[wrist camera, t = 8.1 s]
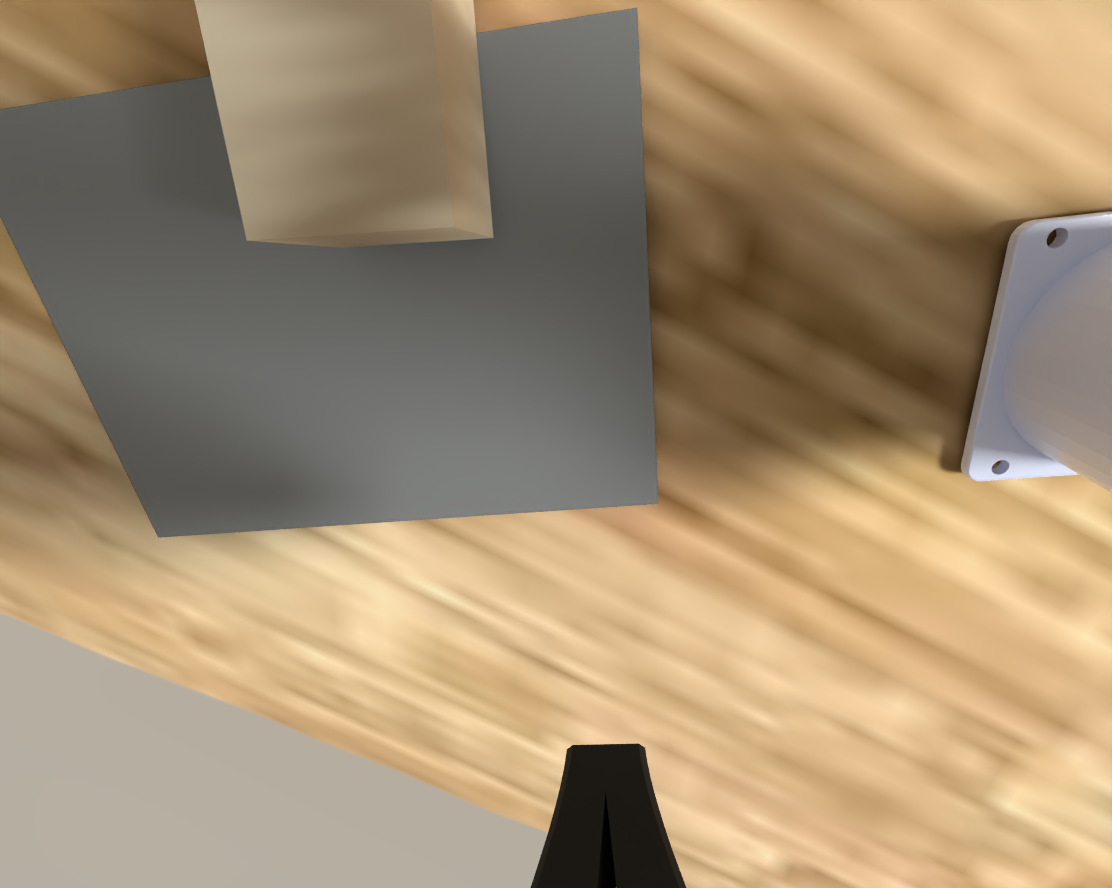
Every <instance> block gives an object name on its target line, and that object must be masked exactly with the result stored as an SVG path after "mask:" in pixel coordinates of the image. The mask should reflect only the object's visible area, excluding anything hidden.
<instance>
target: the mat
mask: <svg viewBox="0 0 1112 888" xmlns="http://www.w3.org/2000/svg"><path fill="white" fill-rule="evenodd" d="M476 38H477V50H478V61H479V73H480V85H481V97H482V109H483V120H484V132H485V144H486V156H487V167H488V179H489V191H490V203H491V214H492V226H493V238H486V239H470V240H454V241H439V242H423V243H407V244H391V245H375V246H360V247H344V248H340V247H326V246H313V245H299V244H285V243H272V242H258V241H247V239H246V235H245V230H244V226H243V221H242V217H241V212H240V207H239V203H238V198H237V194H236V189H235V184H234V180H233V175H232V171H231V166H230V162H229V157H228V152H227V148H226V143H225V139H224V134H223V129H222V125H221V120H220V116H219V111H218V107H217V102H216V97H215V93H214V88H213V84H212V79H211V76H207V77H200V78H194V79H188V80H182V81H175V82H169V83H163V84H156V85H150V86H144V87H138V88H131V89H125V90H119V91H113V92H106V93H100V94H94V95H88V96H81V97H75V98H69V99H63V100H56V101H50V102H44V103H38V104H31V105H25V106H19V107H13V108H6V109H0V217H1V219H2V221H3V223H4V225H5V227H6V229H7V231H8V233H9V235H10V237H11V239H12V241H13V243H14V245H15V247H16V249H17V251H18V253H19V255H20V257H21V259H22V261H23V263H24V265H25V267H26V269H27V272H28V274H29V276H30V278H31V280H32V282H33V284H34V286H35V288H36V290H37V292H38V294H39V296H40V298H41V300H42V302H43V304H44V306H45V308H46V310H47V312H48V314H49V316H50V318H51V320H52V322H53V324H54V326H55V328H56V330H57V332H58V335H59V337H60V339H61V341H62V343H63V345H64V347H65V349H66V351H67V353H68V355H69V357H70V359H71V361H72V363H73V365H74V367H75V369H76V371H77V373H78V375H79V377H80V379H81V381H82V383H83V385H84V387H85V389H86V391H87V393H88V395H89V398H90V400H91V402H92V404H93V406H94V408H95V410H96V412H97V414H98V416H99V418H100V420H101V422H102V424H103V426H104V428H105V430H106V432H107V434H108V436H109V438H110V440H111V442H112V444H113V446H114V448H115V450H116V452H117V454H118V456H119V458H120V461H121V463H122V465H123V467H124V469H125V471H126V473H127V475H128V477H129V479H130V481H131V483H132V485H133V487H134V489H135V491H136V493H137V495H138V497H139V499H140V501H141V503H142V505H143V507H144V509H145V511H146V513H147V515H148V517H149V519H150V521H151V523H152V526H153V528H154V530H155V532H156V534H157V536H158V537H172V536H186V535H201V534H216V533H231V532H246V531H261V530H276V529H290V528H305V527H320V526H335V525H350V524H365V523H380V522H394V521H409V520H424V519H439V518H454V517H469V516H484V515H498V514H513V513H528V512H543V511H558V510H573V509H588V508H602V507H617V506H632V505H647V504H658V486H657V463H656V439H655V416H654V392H653V369H652V345H651V322H650V298H649V275H648V251H647V228H646V205H645V181H644V158H643V134H642V111H641V87H640V64H639V40H638V17H637V8H632V9H626V10H620V11H613V12H607V13H601V14H595V15H588V16H582V17H576V18H570V19H563V20H557V21H551V22H545V23H538V24H532V25H526V26H520V27H513V28H507V29H501V30H495V31H488V32H482V33H476Z"/></svg>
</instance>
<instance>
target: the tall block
mask: <svg viewBox="0 0 1112 888" xmlns="http://www.w3.org/2000/svg"><path fill="white" fill-rule="evenodd" d="M194 1H195V6H196V10H197V15H198V19H199V24H200V29H201V33H202V38H203V42H204V47H205V51H206V56H207V61H208V65H209V70H210V74H211V79H212V84H213V88H214V93H215V97H216V102H217V107H218V111H219V116H220V120H221V125H222V129H223V134H224V139H225V143H226V148H227V152H228V157H229V162H230V166H231V171H232V175H233V180H234V184H235V189H236V194H237V198H238V203H239V207H240V212H241V217H242V221H243V226H244V230H245V235H246V239H247V241H258V242H272V243H285V244H299V245H313V246H326V247H340V248H344V247H360V246H375V245H391V244H407V243H423V242H439V241H454V240H470V239H486V238H493V226H492V214H491V203H490V191H489V179H488V167H487V156H486V144H485V132H484V120H483V109H482V97H481V85H480V73H479V61H478V50H477V38H476V26H475V14H474V3H473V0H194Z"/></svg>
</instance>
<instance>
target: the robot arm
mask: <svg viewBox="0 0 1112 888" xmlns="http://www.w3.org/2000/svg"><path fill="white" fill-rule="evenodd" d="M1054 229H1055V230H1056V238H1055V240H1054V242H1052V243H1051V244H1050V245H1049V246H1048V245H1047V237H1048V235H1049V234H1050V233H1051V232H1052V231H1053V230H1054ZM1000 460H1001V462H1000V464H999V465H998V466H997V467H996V468H993V469H992V466H993V465H994V464H995V463H996V462H997V461H1000ZM961 471H962V472H963V474H964V475H966V476H967V477H968V478H970V479H972V480H974V481H992V480H1007V479H1021V478H1036V477H1051V476H1066V475H1082V476H1084V477H1085V478H1087V479H1089V480H1091V481H1092V482H1094V483H1096V484H1098V485H1100V486H1101V487H1103V488H1105V489H1107V490H1108V491H1110V492H1112V211H1109V212H1100V213H1091V214H1082V215H1073V216H1064V217H1055V218H1046V219H1037V220H1031V221H1027V222H1024V223H1023V224H1021V225H1020V226H1018V227H1017V228H1016V229H1015V231H1014V232H1013V233H1012V234H1011V237H1010V239H1009V242H1008V247H1007V251H1006V256H1005V261H1004V265H1003V270H1002V275H1001V279H1000V284H999V289H998V293H997V298H996V303H995V307H994V312H993V317H992V322H991V326H990V331H989V336H988V340H987V345H986V350H985V354H984V359H983V364H982V368H981V373H980V378H979V382H978V387H977V392H976V396H975V401H974V406H973V410H972V415H971V420H970V425H969V429H968V434H967V439H966V443H965V448H964V453H963V457H962V462H961ZM616 887H617V888H686V886H685V883H684V881H683V878H682V875H681V872H680V870H679V867H678V864H677V862H676V859H675V856H674V854H673V851H672V848H671V845H670V842H669V839H668V836H667V833H666V830H665V827H664V824H663V821H662V817H661V814H660V811H659V808H658V804H657V801H656V797H655V793H654V790H653V786H652V782H651V778H650V773H649V768H648V764H647V758H646V751H645V748H644V747H643V746H641V745H640V744H603V745H572V746H571V747H570V748H568V749H567V754H566V760H565V767H564V772H563V776H562V781H561V786H560V790H559V794H558V798H557V802H556V806H555V810H554V814H553V817H552V821H551V825H550V828H549V832H548V835H547V838H546V841H545V845H544V848H543V851H542V854H541V857H540V860H539V864H538V867H537V870H536V873H535V876H534V880H533V882H532V885H531V888H616Z"/></svg>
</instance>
